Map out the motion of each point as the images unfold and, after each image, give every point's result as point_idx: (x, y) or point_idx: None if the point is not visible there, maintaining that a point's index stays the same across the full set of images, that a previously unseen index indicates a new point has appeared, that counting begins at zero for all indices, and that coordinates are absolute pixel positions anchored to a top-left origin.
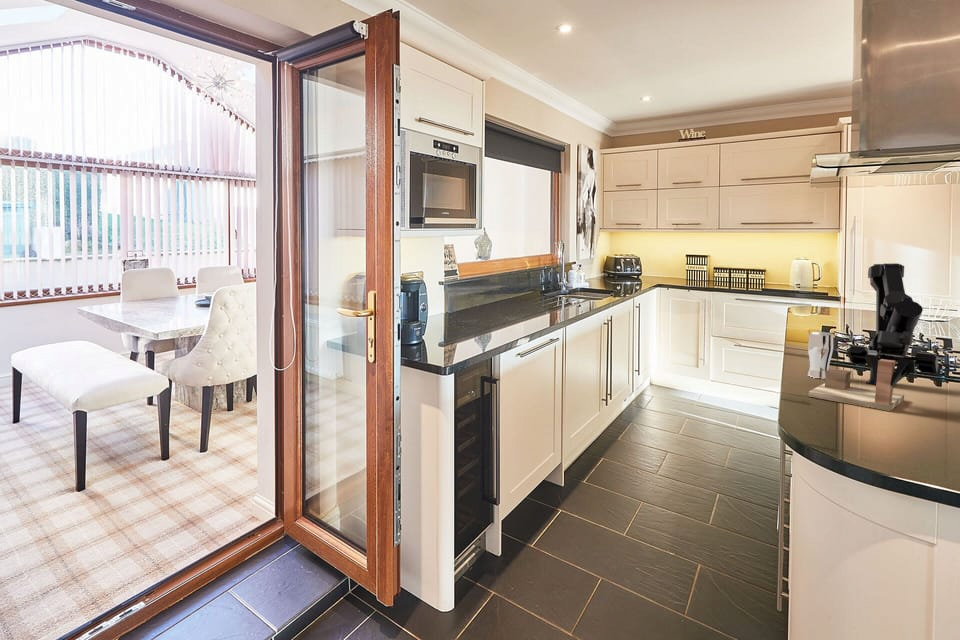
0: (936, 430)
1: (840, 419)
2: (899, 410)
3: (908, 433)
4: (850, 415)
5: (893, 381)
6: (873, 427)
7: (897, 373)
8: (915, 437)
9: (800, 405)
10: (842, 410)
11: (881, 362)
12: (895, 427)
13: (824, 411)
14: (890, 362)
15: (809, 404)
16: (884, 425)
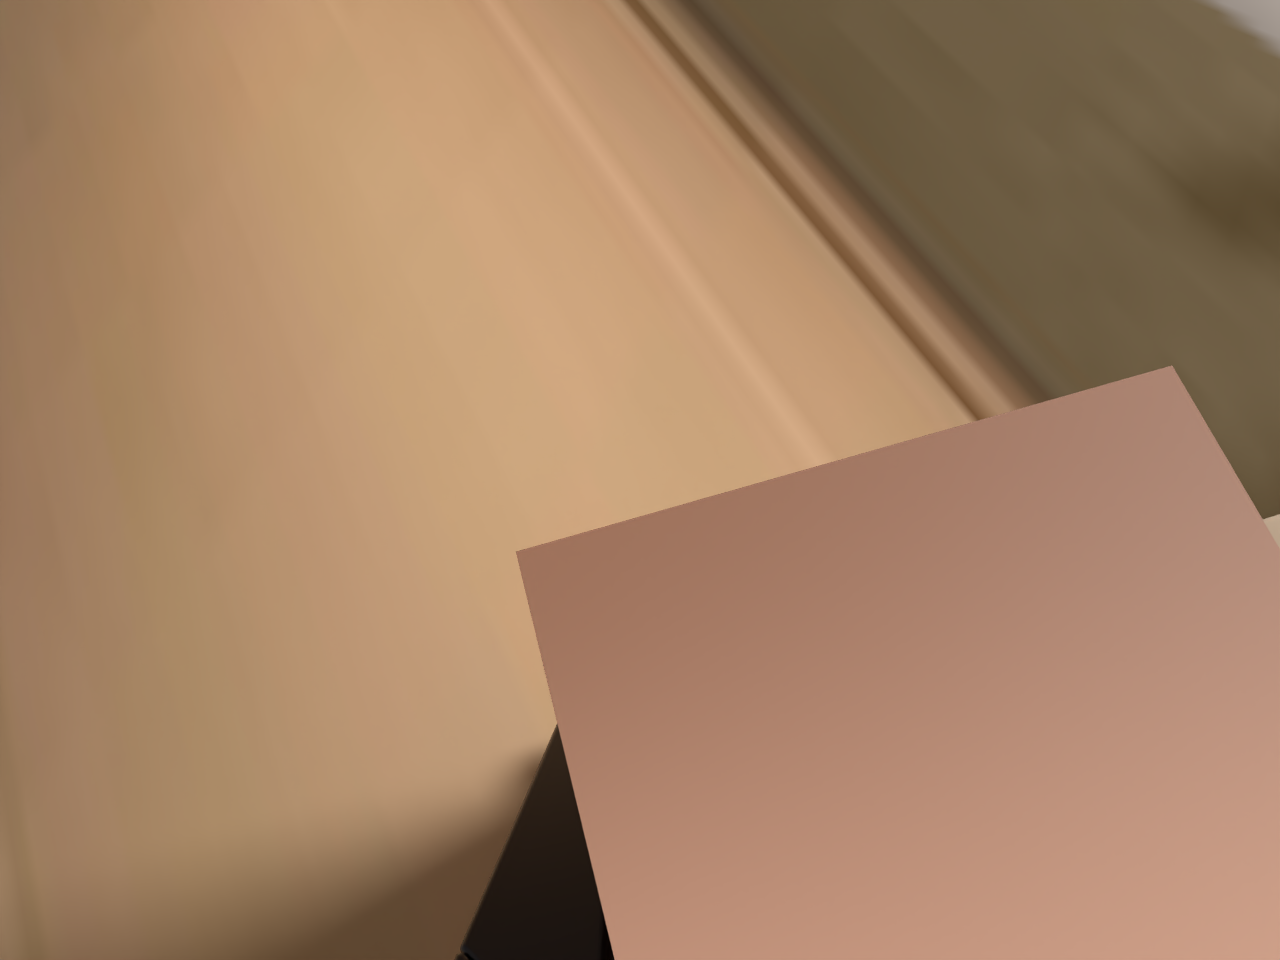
0: (33, 461)
1: (692, 48)
2: None
3: (180, 171)
4: (730, 217)
5: (559, 733)
6: (421, 83)
7: (515, 935)
8: (111, 127)
9: (1181, 106)
10: (886, 301)
11: (994, 443)
12: (311, 229)
13: (929, 128)
14: (609, 529)
15: (1188, 206)
16: (394, 202)
